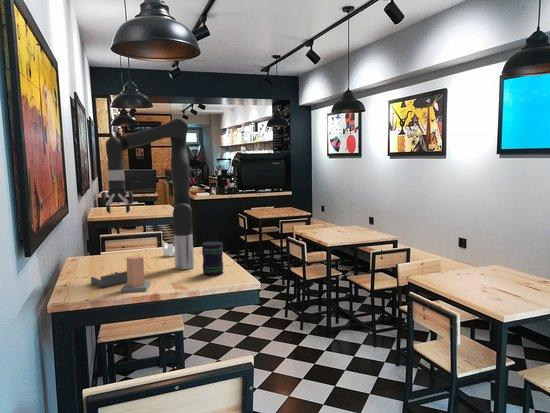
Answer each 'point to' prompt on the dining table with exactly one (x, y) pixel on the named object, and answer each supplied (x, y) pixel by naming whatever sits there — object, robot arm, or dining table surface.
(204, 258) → the storage jar
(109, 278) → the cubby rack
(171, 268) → the dining table surface
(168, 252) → the bracket
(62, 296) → the dining table surface
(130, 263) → the terracotta block
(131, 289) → the slate pad
